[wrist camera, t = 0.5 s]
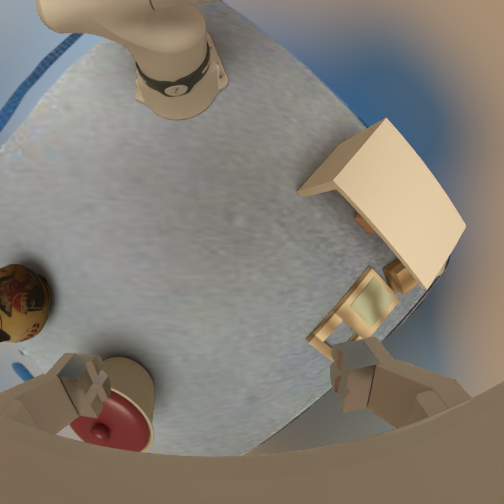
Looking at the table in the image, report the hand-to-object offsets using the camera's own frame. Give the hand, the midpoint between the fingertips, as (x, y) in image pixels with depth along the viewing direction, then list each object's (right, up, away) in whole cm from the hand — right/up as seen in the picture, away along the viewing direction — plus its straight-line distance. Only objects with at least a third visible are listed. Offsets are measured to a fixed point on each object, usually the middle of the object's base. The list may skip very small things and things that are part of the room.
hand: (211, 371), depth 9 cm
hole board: (+23, -10, +50) cm, 56 cm away
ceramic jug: (-47, -6, +42) cm, 63 cm away
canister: (-26, -24, +46) cm, 58 cm away
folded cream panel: (+23, +13, +47) cm, 54 cm away
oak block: (+33, -1, +50) cm, 60 cm away
